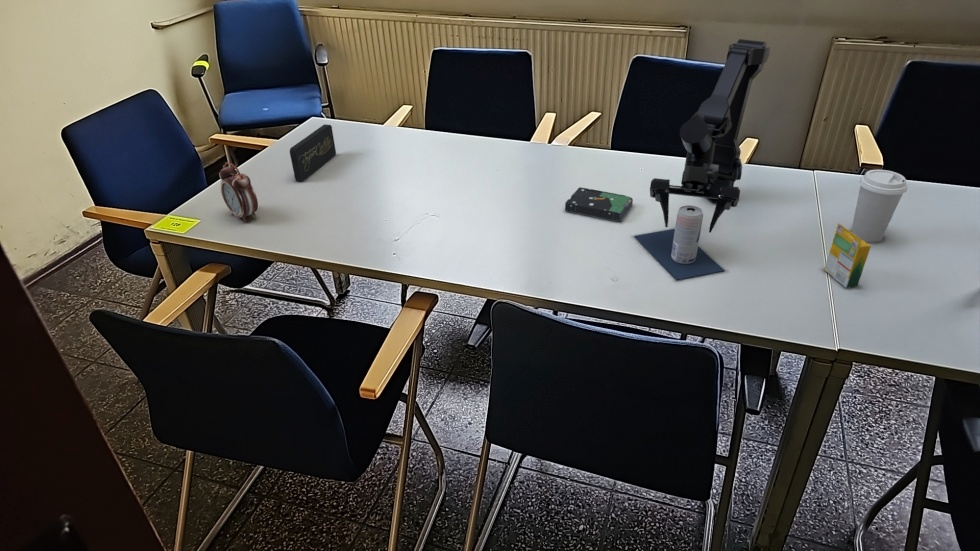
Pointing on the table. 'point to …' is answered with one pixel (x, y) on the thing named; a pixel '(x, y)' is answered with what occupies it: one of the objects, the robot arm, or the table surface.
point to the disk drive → (599, 204)
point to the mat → (661, 251)
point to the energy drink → (687, 234)
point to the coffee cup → (877, 203)
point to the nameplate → (312, 152)
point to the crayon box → (847, 257)
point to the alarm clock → (238, 192)
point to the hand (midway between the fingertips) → (687, 229)
